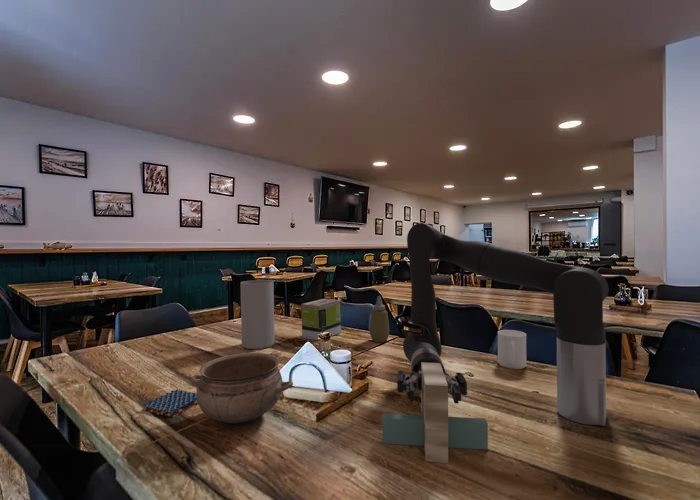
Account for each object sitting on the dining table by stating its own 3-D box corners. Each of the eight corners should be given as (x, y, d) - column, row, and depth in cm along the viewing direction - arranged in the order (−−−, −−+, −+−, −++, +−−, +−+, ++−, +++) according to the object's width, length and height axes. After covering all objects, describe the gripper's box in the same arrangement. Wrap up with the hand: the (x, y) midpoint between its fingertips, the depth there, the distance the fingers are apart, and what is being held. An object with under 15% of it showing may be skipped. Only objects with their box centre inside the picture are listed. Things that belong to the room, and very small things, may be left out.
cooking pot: (165, 434, 75) (163, 377, 74) (215, 396, 93) (214, 349, 93) (276, 445, 70) (275, 384, 69) (306, 402, 88) (305, 354, 88)
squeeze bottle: (366, 342, 140) (366, 297, 140) (373, 337, 148) (372, 294, 147) (386, 344, 137) (386, 298, 137) (392, 339, 145) (391, 295, 144)
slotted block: (421, 426, 76) (421, 362, 76) (440, 428, 75) (440, 363, 75) (425, 461, 64) (425, 384, 64) (448, 463, 64) (448, 385, 63)
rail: (485, 443, 69) (485, 418, 69) (487, 449, 67) (487, 423, 67) (383, 437, 72) (382, 413, 72) (382, 443, 70) (382, 418, 70)
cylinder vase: (270, 349, 133) (269, 283, 132) (237, 350, 133) (235, 283, 132) (277, 340, 145) (276, 279, 145) (247, 340, 145) (246, 280, 145)
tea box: (324, 330, 161) (323, 298, 161) (341, 333, 155) (341, 299, 155) (301, 337, 149) (300, 302, 149) (319, 341, 143) (318, 305, 143)
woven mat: (173, 420, 81) (173, 411, 81) (140, 413, 85) (140, 404, 85) (207, 401, 91) (207, 393, 91) (176, 395, 95) (176, 387, 95)
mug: (527, 375, 104) (527, 340, 104) (497, 371, 108) (496, 337, 107) (525, 362, 115) (525, 331, 115) (498, 359, 118) (498, 328, 118)
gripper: (396, 351, 85) (396, 376, 68) (458, 352, 83) (472, 379, 66) (396, 382, 85) (396, 415, 69) (458, 384, 83) (473, 419, 67)
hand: (434, 397), depth 68 cm, fingers open, 8 cm apart
